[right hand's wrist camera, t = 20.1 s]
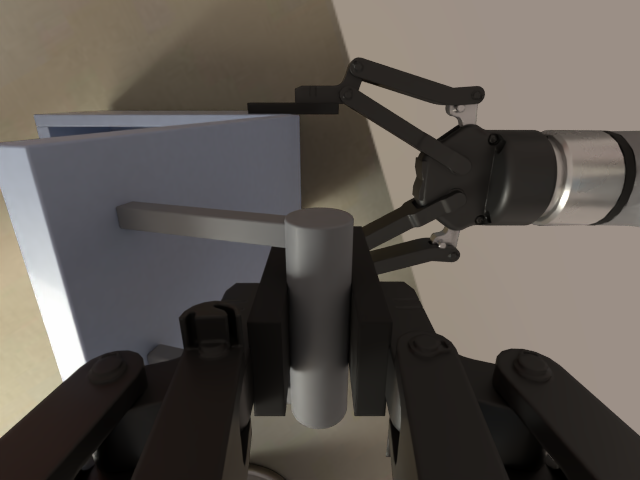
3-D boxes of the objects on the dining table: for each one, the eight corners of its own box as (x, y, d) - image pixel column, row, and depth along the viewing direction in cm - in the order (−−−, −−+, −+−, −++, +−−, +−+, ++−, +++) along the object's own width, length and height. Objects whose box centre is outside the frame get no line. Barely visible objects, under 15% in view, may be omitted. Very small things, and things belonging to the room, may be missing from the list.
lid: (83, 450, 12) (325, 531, 10) (-16, 143, 8) (328, 159, 6) (286, 249, 28) (394, 261, 26) (281, 114, 25) (406, 116, 23)
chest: (123, 214, 37) (68, 248, 28) (102, 110, 33) (32, 114, 25) (298, 213, 37) (294, 246, 29) (295, 110, 34) (291, 114, 25)
